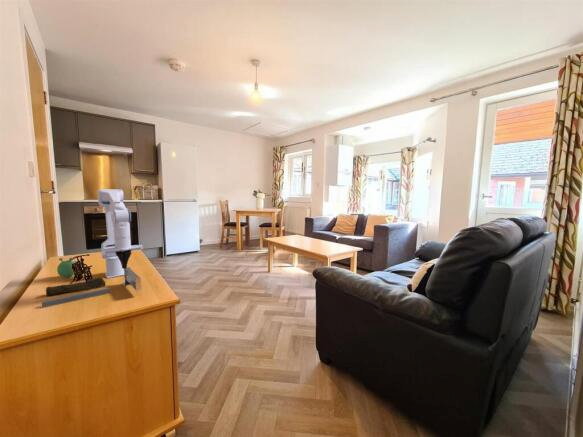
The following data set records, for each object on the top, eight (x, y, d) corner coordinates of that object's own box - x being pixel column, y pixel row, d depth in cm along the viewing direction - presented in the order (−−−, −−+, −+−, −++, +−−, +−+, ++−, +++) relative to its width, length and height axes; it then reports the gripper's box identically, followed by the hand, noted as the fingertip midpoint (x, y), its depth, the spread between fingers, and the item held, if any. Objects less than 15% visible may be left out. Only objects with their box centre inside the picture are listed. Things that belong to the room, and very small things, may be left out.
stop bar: (42, 306, 89) (41, 301, 89) (109, 291, 103) (109, 287, 103) (42, 307, 88) (41, 302, 88) (110, 292, 102) (109, 288, 101)
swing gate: (124, 283, 112) (123, 268, 111) (130, 281, 113) (129, 267, 113) (135, 296, 97) (134, 279, 96) (142, 294, 99) (141, 277, 98)
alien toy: (80, 273, 126) (79, 255, 125) (72, 278, 118) (70, 258, 117) (63, 275, 123) (62, 256, 123) (54, 280, 116) (52, 260, 115)
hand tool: (45, 298, 97) (44, 287, 96) (48, 294, 100) (47, 283, 100) (104, 289, 106) (103, 279, 106) (105, 286, 110) (105, 276, 109)
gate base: (122, 283, 112) (122, 283, 112) (132, 281, 115) (132, 281, 115) (123, 286, 109) (123, 285, 109) (134, 284, 112) (134, 283, 112)
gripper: (102, 240, 96) (104, 273, 98) (143, 236, 106) (145, 266, 107) (100, 238, 101) (102, 269, 103) (140, 234, 111) (141, 263, 112)
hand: (124, 267), depth 105 cm, fingers closed
